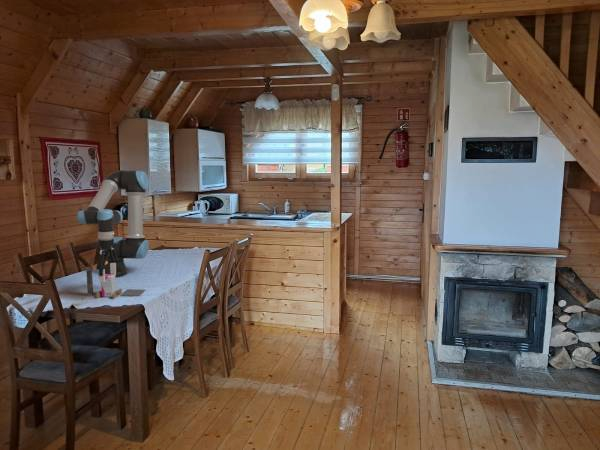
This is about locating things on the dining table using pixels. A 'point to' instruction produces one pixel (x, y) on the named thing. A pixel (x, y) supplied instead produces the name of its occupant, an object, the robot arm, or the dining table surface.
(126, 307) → the dining table surface
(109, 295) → the supplement box
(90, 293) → the socket
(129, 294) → the pad
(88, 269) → the clip
